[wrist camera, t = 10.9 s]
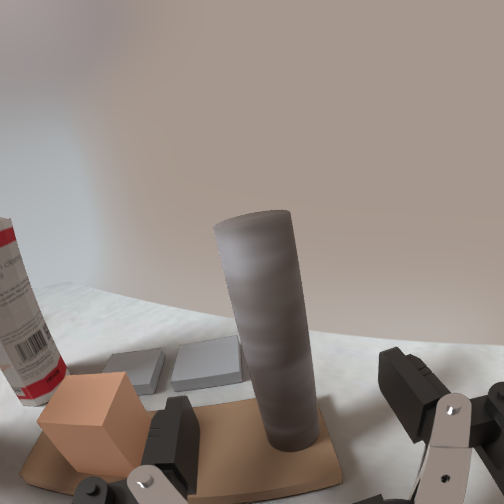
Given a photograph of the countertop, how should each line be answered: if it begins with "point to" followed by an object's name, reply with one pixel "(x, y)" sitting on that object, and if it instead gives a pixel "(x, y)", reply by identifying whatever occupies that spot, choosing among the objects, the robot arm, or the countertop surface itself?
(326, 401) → the countertop surface
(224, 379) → the broken strip
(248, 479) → the pull strip
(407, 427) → the robot arm
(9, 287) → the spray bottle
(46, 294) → the countertop surface
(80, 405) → the terracotta block
